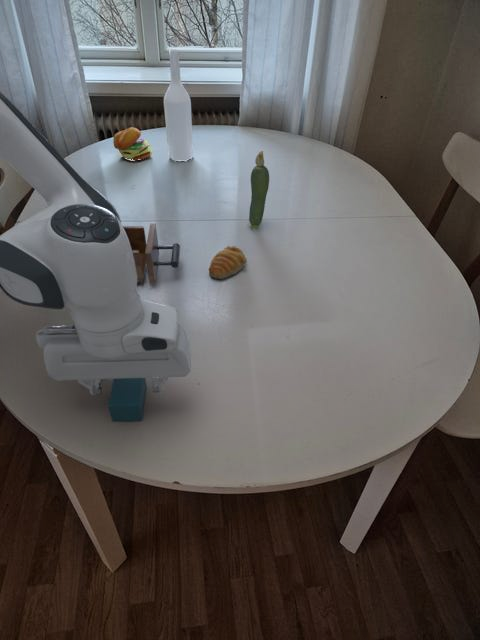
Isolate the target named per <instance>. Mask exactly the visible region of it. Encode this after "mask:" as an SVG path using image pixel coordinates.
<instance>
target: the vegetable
mask: <svg viewBox="0 0 480 640" xmlns="http://www.w3.org/2000/svg"><path fill="white" fill-rule="evenodd" d="M254 162H255V165H256V166H254V167H253V169H252V170H251V173H250V189H251V198H250V206H249V213H248V214H249V215H248V221H249V224H250V229H251V230H254V229H255V230H256V229H257V230H258V229H260V225H261V224H262V222H263V217H264V213H265V207H266V206H265V205H266V200H267V195H268V191H269V187H270V172H269V169H268V167H267V166H265V158H264V151H263V150H261V151H259V152H258V154H257V155H256V156H255V161H254Z"/></svg>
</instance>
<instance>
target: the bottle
mask: <svg viewBox="0 0 480 640" xmlns="http://www.w3.org/2000/svg"><path fill="white" fill-rule="evenodd" d="M168 54H169V55H168V56H169V69H170V70H169V71H170V82H169V86H168V87H167V89H166V92H165V94H164V96H163V110H164V111H163V112H164V120H165V121H164V122H165V133H166V144H167V154H168V155H169V156H168V158H169V157H170V158H172V159H174V160H187V159H190V158H192V157H193V158H194V140H193V139H194V138H193V119H192V100H191V97H190V95H189V92H188V91H187V90H186V88H185V87H184V85H183V83H182V79H181V67H180V52H179V50H178V49H168ZM174 162H176V161H174ZM185 162H187V161H185ZM185 162H184V163H185ZM176 163H177V162H176Z"/></svg>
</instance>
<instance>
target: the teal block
mask: <svg viewBox="0 0 480 640" xmlns="http://www.w3.org/2000/svg"><path fill="white" fill-rule="evenodd" d="M146 392H147V379H146V378H126V379H112V386H111V391H110V395H109V401H108V406H107V407H108V410H109V414H110V417H111V421H112V423H113V422H114V423H117V422H119V423H120V422H142V421H143V419H144V418H143V417H144V409H145V402H146V395H147V394H146Z"/></svg>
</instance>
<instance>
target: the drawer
mask: <svg viewBox="0 0 480 640" xmlns="http://www.w3.org/2000/svg"><path fill="white" fill-rule="evenodd" d="M122 226H123V228H124V230H125V232H126V234H127V237H128V239H129V242H130V245H131V249H132V253H133V257H134V261H135V266H136V272H137V283H139V282H142V283H143V282H144V279H145V274H146V271H147V277H148V284H149V285H156V280H157V274H158V266H161V267H162V266H170V267H172V268H174V269H176V268H178V267H179V266H180V265H179V264H180V253H181V245H180V243H178V242H174V243H173V244H172V245H159V239H158V229H157V223H150V224H149V229H148V235H147V238H146V232H145V226H143V225H126V226H125V225H122ZM160 250H171V257H170V258H171V259H170V261H159V259H160Z"/></svg>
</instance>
